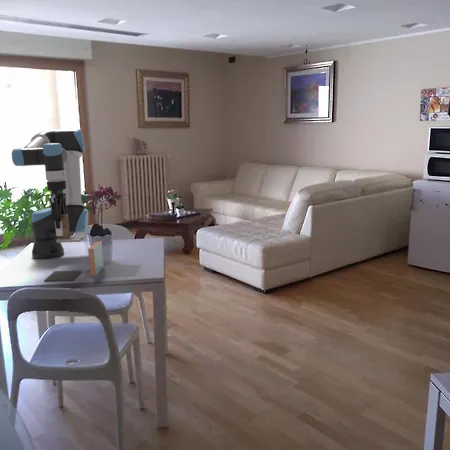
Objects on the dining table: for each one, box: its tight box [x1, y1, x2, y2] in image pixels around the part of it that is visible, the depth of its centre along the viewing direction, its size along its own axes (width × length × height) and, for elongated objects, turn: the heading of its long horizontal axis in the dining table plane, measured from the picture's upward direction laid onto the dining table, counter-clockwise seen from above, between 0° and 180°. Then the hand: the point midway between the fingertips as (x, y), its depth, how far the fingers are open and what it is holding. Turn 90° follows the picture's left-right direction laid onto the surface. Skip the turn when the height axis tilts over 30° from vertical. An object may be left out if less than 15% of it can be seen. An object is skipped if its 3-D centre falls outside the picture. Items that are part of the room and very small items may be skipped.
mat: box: [83, 264, 142, 278], centre depth 206 cm, size 15×22×1 cm
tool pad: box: [43, 270, 82, 283], centre depth 200 cm, size 12×12×1 cm
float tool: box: [56, 214, 86, 244], centre depth 202 cm, size 8×10×11 cm
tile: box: [87, 240, 105, 276], centre depth 205 cm, size 12×2×12 cm, turn 0°
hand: (61, 234), depth 202 cm, fingers closed on float tool, 4 cm apart
